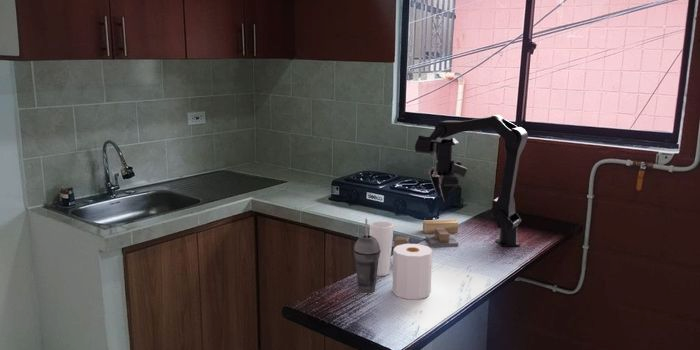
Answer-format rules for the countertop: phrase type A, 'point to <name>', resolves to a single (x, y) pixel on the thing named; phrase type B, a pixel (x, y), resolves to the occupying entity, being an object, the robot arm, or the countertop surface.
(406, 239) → the wooden block
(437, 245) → the balance stand
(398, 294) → the toilet paper
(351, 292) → the countertop surface
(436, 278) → the countertop surface
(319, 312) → the countertop surface
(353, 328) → the countertop surface
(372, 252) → the beverage cup
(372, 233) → the drinking glass
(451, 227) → the oak bar
